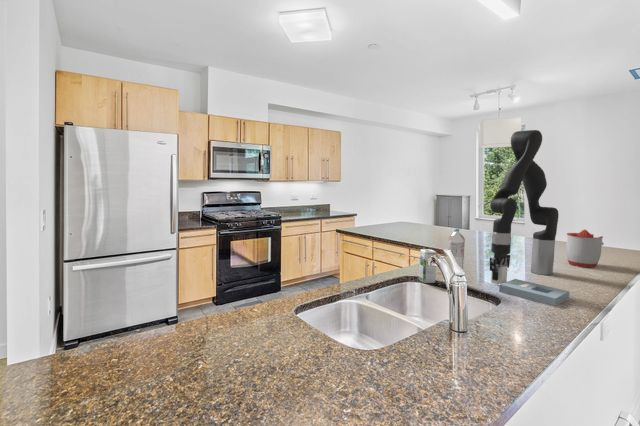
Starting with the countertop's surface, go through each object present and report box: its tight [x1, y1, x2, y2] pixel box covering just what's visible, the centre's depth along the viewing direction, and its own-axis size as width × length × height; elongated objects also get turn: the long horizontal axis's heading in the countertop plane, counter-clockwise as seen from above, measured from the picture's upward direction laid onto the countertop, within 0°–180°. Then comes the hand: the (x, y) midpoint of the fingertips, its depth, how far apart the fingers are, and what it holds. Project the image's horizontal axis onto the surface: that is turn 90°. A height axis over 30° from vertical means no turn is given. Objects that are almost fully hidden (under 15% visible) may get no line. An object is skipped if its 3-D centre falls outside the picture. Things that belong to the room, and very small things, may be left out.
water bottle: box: [447, 228, 466, 271], centre depth 145 cm, size 7×7×25 cm
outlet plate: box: [498, 278, 570, 307], centre depth 133 cm, size 14×20×3 cm
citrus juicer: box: [565, 229, 604, 268], centre depth 180 cm, size 16×17×20 cm
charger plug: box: [490, 265, 508, 285], centre depth 148 cm, size 5×5×8 cm
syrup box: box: [418, 248, 437, 284], centre depth 150 cm, size 6×6×14 cm
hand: (499, 278), depth 148 cm, fingers open, 6 cm apart
